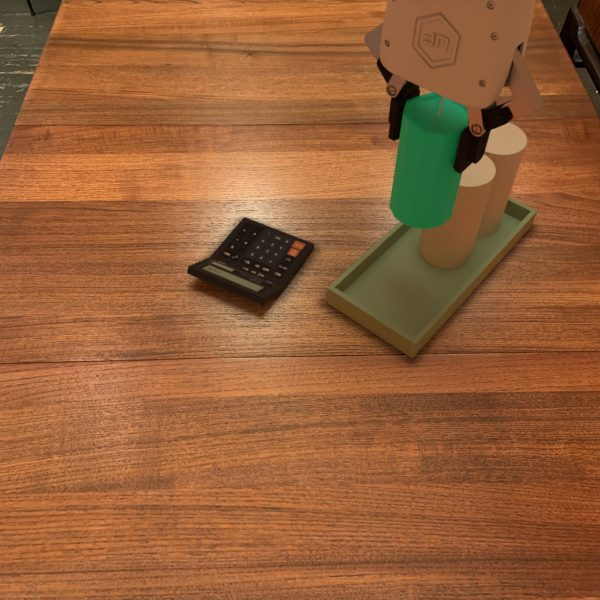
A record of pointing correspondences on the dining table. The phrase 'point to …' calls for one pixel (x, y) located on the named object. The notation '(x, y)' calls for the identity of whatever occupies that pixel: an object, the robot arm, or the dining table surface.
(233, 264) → the calculator
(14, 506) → the dining table surface
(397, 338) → the tray
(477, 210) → the cream candle
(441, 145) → the candle
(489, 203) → the cream candle
